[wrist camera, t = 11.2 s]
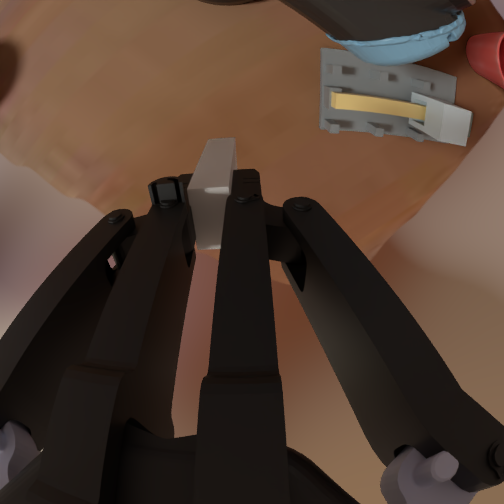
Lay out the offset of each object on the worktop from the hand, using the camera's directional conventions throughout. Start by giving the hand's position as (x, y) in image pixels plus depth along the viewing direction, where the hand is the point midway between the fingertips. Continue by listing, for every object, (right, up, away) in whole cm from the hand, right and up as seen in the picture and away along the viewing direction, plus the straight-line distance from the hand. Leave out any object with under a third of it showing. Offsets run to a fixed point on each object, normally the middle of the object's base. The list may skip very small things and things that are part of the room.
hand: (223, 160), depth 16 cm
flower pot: (+40, +28, +10) cm, 50 cm away
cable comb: (+22, +18, +18) cm, 34 cm away
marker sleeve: (+27, +15, +16) cm, 35 cm away
